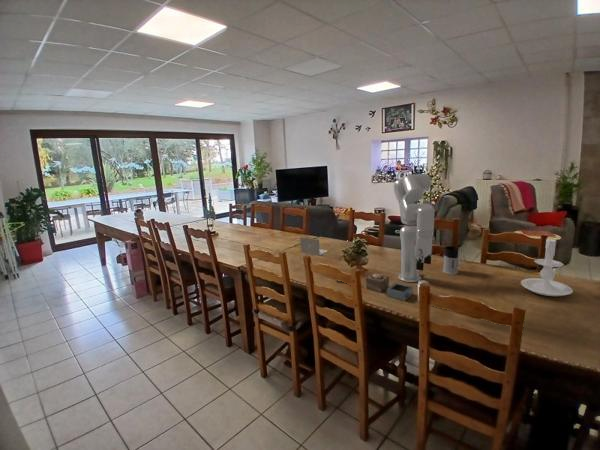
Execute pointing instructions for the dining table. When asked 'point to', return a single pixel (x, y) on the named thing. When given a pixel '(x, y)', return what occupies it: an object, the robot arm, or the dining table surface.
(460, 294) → the dining table surface
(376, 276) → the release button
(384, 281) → the grey square box
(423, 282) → the filter cartridge
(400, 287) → the cartridge housing
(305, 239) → the laptop
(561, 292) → the candlestick
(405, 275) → the robot arm
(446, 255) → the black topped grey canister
